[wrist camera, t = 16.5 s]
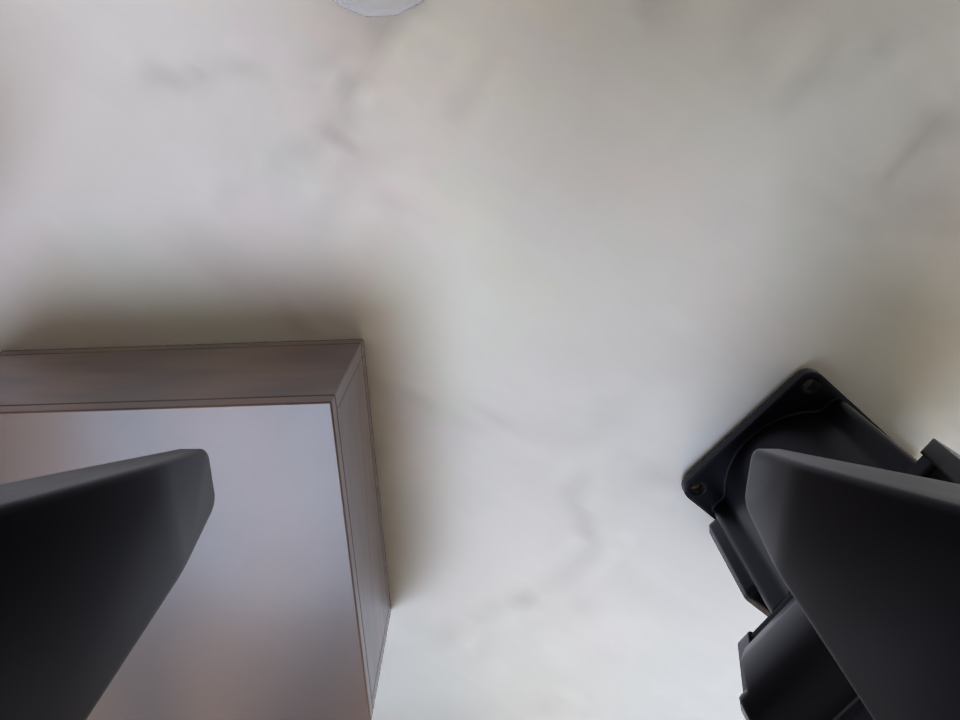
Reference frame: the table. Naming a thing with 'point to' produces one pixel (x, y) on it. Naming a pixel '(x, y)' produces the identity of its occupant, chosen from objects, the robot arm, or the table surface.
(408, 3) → the rook chess piece
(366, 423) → the organizer
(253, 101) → the table surface
